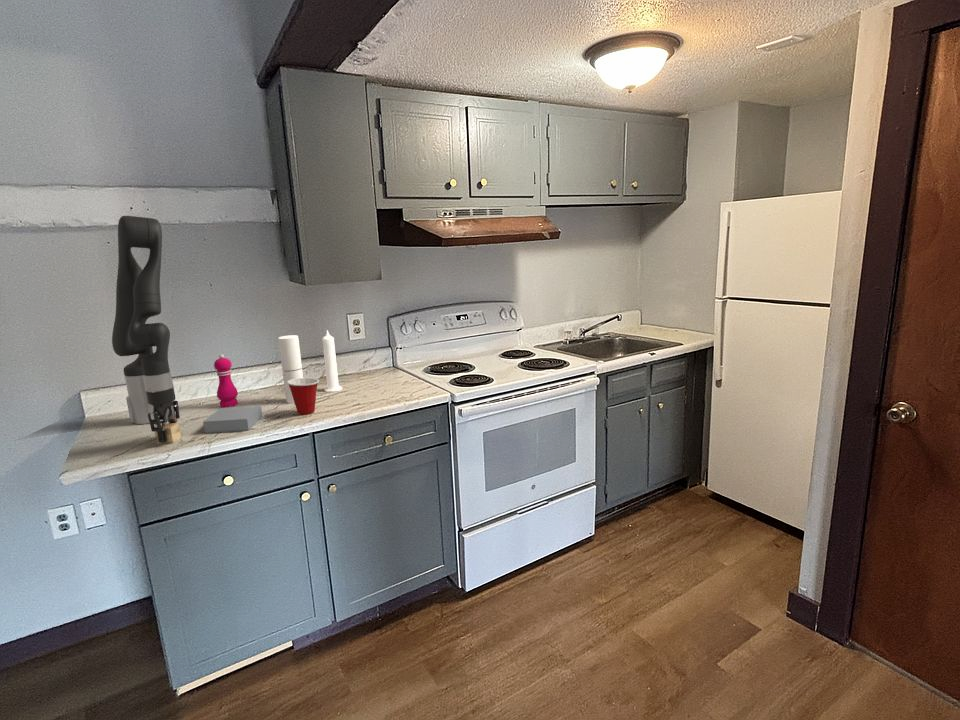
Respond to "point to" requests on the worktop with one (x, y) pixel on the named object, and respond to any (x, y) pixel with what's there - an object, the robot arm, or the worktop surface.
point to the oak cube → (170, 433)
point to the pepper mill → (225, 383)
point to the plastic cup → (304, 394)
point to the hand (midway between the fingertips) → (168, 437)
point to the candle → (330, 364)
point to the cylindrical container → (290, 362)
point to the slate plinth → (233, 419)
